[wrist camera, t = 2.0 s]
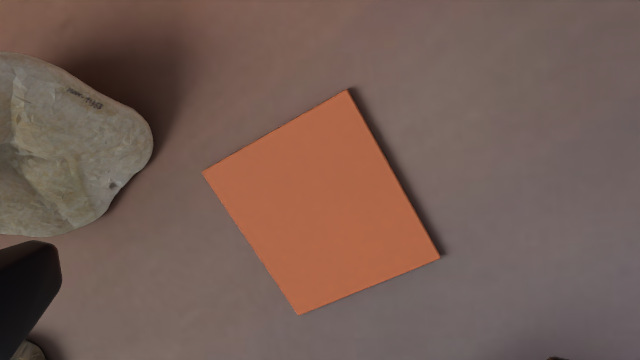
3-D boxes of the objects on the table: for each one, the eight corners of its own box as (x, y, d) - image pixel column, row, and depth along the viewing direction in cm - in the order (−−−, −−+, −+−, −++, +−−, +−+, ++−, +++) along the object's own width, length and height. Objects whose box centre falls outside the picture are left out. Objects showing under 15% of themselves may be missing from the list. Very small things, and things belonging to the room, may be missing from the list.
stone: (175, 216, 24) (-35, 344, 18) (108, 161, 27) (-88, 254, 21) (129, 26, 17) (-236, 131, 11) (47, -18, 20) (-269, 45, 14)
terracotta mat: (299, 312, 23) (298, 315, 23) (203, 170, 21) (201, 172, 21) (440, 255, 21) (440, 258, 20) (347, 88, 19) (346, 89, 18)
